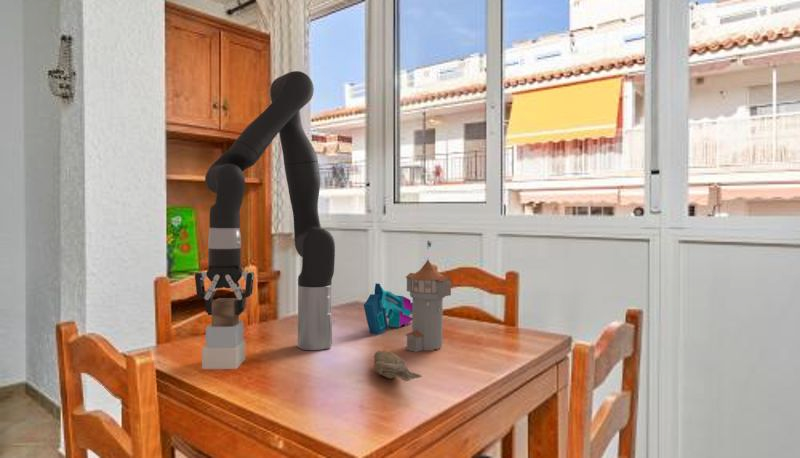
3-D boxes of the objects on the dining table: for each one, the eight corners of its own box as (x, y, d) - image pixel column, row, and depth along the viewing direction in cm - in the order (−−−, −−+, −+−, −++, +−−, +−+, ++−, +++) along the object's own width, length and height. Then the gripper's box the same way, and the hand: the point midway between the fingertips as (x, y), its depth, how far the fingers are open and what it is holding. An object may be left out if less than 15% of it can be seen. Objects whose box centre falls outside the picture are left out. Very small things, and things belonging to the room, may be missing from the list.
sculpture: (400, 401, 99) (400, 376, 99) (362, 366, 122) (362, 345, 122) (428, 397, 101) (429, 373, 101) (386, 363, 124) (386, 343, 124)
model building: (457, 347, 140) (459, 240, 139) (430, 356, 131) (432, 242, 130) (420, 339, 149) (421, 238, 148) (392, 346, 141) (393, 240, 140)
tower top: (243, 340, 126) (243, 321, 126) (235, 348, 119) (235, 327, 119) (215, 340, 126) (215, 321, 126) (205, 348, 119) (205, 327, 119)
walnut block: (238, 322, 125) (238, 298, 125) (232, 326, 120) (232, 301, 120) (218, 322, 125) (218, 298, 124) (211, 326, 120) (211, 301, 119)
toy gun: (408, 346, 168) (418, 303, 173) (367, 330, 148) (379, 282, 153) (398, 344, 171) (407, 302, 175) (356, 328, 151) (368, 280, 155)
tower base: (245, 359, 127) (245, 340, 127) (236, 369, 119) (236, 348, 119) (213, 360, 126) (213, 340, 126) (202, 369, 118) (202, 348, 118)
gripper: (258, 245, 126) (258, 311, 126) (200, 245, 125) (200, 311, 126) (250, 247, 118) (250, 317, 119) (189, 247, 118) (189, 317, 118)
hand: (224, 314), depth 122 cm, fingers open, 6 cm apart
